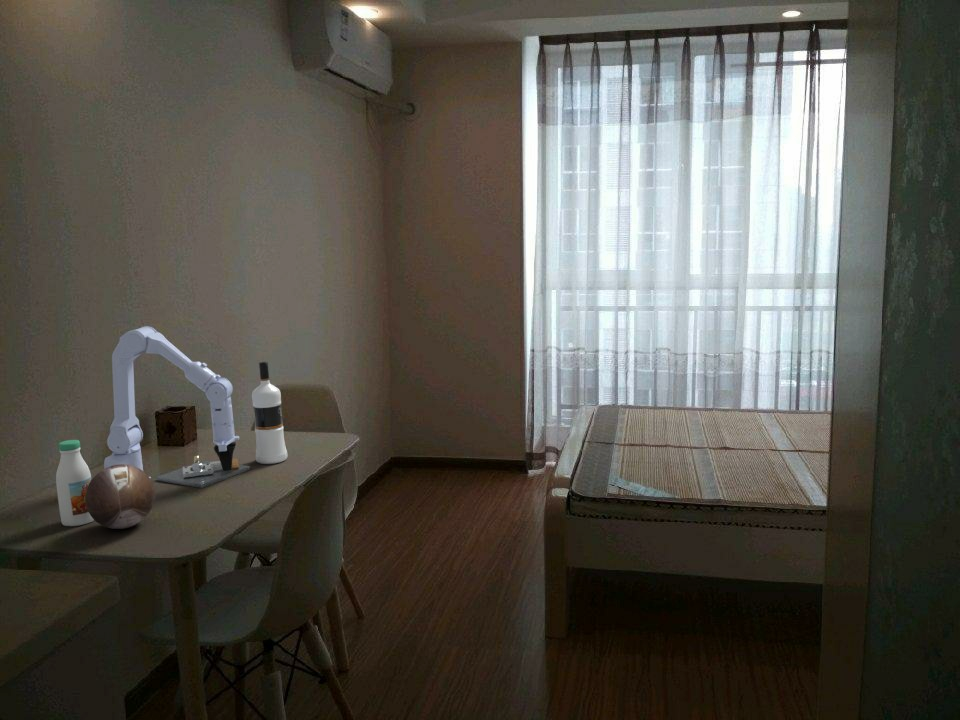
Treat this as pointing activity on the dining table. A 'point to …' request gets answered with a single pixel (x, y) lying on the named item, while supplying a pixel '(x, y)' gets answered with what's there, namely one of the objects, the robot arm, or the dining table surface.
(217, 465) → the silver flat metal piece
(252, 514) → the dining table surface
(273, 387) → the vodka
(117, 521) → the shiny brown metallic sphere
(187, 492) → the dining table surface
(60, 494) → the milk bottle
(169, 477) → the base plate
